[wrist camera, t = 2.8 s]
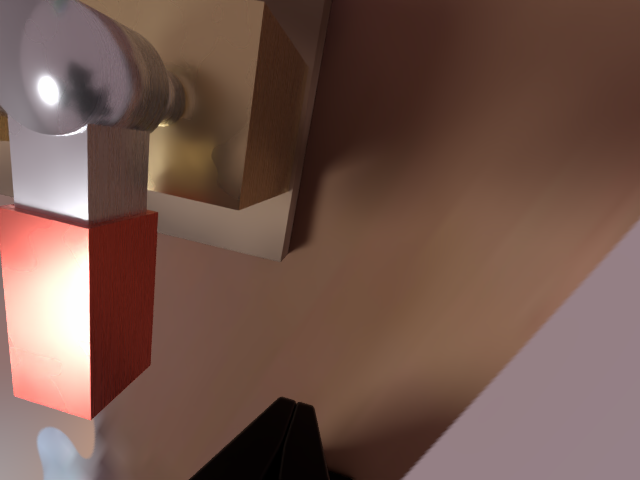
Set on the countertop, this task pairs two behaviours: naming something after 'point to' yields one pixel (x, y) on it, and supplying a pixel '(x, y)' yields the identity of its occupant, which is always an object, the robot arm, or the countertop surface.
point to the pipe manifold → (218, 98)
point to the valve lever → (78, 201)
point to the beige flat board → (262, 218)
